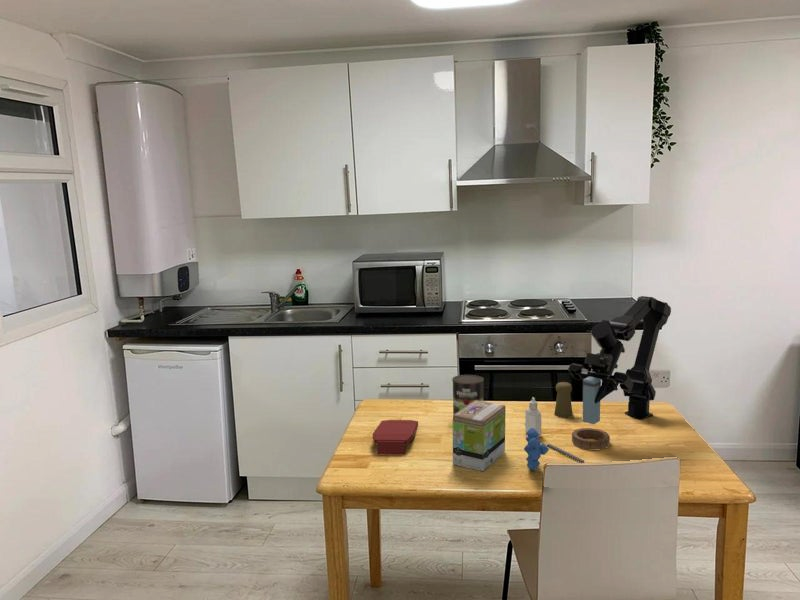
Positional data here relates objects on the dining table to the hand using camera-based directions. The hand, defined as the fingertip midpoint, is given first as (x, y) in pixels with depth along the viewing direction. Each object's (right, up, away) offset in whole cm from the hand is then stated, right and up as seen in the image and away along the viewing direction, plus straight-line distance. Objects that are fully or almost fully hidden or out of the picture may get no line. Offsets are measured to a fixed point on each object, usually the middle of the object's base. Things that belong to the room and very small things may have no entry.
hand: (589, 401), depth 182 cm
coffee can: (-33, -10, +26) cm, 43 cm away
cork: (0, -9, +27) cm, 28 cm away
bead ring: (+1, -13, +3) cm, 13 cm away
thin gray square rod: (-8, -15, -4) cm, 17 cm away
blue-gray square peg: (+1, -6, +2) cm, 7 cm away
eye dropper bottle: (-14, -12, +11) cm, 22 cm away
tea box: (-33, -16, -5) cm, 37 cm away
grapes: (-18, -17, -13) cm, 28 cm away
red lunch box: (-57, -14, +13) cm, 60 cm away
